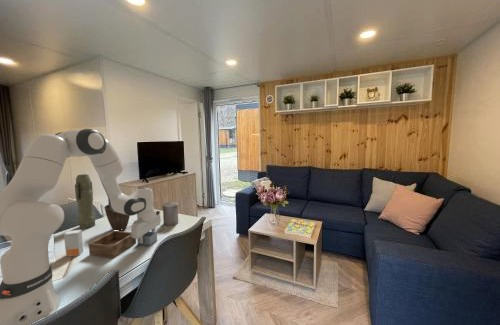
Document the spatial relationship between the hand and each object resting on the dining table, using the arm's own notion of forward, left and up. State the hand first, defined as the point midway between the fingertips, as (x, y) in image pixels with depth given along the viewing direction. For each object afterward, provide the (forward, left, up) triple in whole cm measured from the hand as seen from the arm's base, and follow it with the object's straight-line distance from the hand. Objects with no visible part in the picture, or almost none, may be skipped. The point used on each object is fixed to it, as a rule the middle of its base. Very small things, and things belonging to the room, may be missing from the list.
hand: (147, 238), depth 124 cm
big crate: (-10, +13, -2) cm, 17 cm away
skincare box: (-19, +28, -2) cm, 34 cm away
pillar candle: (+28, +3, -2) cm, 28 cm away
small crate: (0, 0, -2) cm, 2 cm away
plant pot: (+12, +30, -2) cm, 32 cm away
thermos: (+11, +55, -2) cm, 56 cm away
